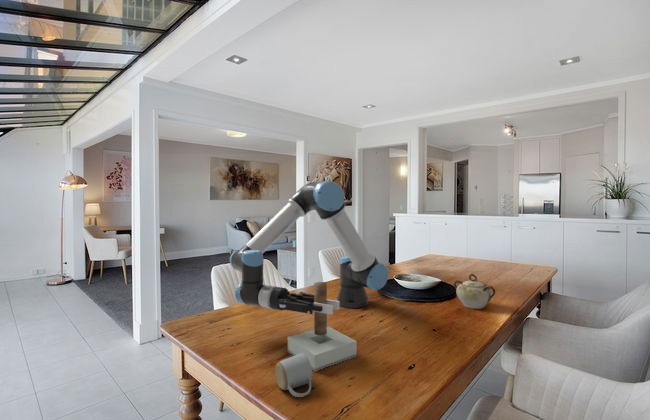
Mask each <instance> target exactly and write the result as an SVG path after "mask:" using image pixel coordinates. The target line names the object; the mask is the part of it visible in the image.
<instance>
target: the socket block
mask: <svg viewBox="0 0 650 420" xmlns="http://www.w3.org/2000/svg"><path fill="white" fill-rule="evenodd" d="M357 345H358V343H357V340H355V339H353V338H352V337H349V336H348V335H345V334H343V333H342V332H340V331H338V330H336V329H334V328H332V327H330V326H329V325H327V334H325V335H316V334H315V333H314V329H311V330H306V331H303V332H300V333H297V334H293V335H289V336H287V353H289V355H291V354H292V355H291V356H295V355H298V354H300V353H304V354H305V355H306V356H307V358H308V360H309V362H310V365H311V368H312V370H313V371H312V372H314V371H317V370H320V369H322V370H324V369H323V368H325V367H328V366H330V367H332V366H331V365H333V366H335V365H334V364H336V365H337V363H338V364H340V363H339V362H341V363H343V362H342V361H344V362H346V361H349V360H351V358H352V359H354V358H357V351H358V349H357V347H358V346H357ZM353 357H354V358H353ZM348 359H349V360H348ZM345 360H346V361H345ZM328 368H329V367H328ZM325 369H326V368H325ZM320 371H321V370H320ZM317 372H318V371H317Z"/></svg>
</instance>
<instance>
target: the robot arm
mask: <svg viewBox="0 0 650 420" xmlns="http://www.w3.org/2000/svg"><path fill="white" fill-rule="evenodd" d="M345 197H346V196H345V192H344V189H343V188H342V186H341V185H339V184H338V183H337V182H335V181H332V180H331V181H330V180H321V181H316V182H314V181H311V182H309V183H306V184H304V185H302V187H300V188H299V190H297V191H296V192H295V193H294V194H293V195H292V196H291V197H289V199H288V200H287V204H286V205H285V206H284V207H283V208H282V209H281V210H279V212H277V214H276V215H275V216H273V218H271V219H270V221H269V222H267V223H266V224H265V225H264V226H263V227H262V228H261V229H260V230H259V231H258V232H257V233H255V235H254V236H253V237H252V238H251V239H250V240H249V241H247V243H246V244H245V245H243V246H242V247H241V248H240V249H238V250H235V251H233V252H231V254H230V256H229V264H230V266H231V267H232V268H233V269H234V270H236V271H238V272H240V273H241V282H240V283H238V284H237V286H236V289H235V292H234V297H235V299H236V301H237V302H238V303H240V304H244V305H248V306H253V307H254V306H255V307H256V306H257V307H260V308H266V309H267V310H269V309H272V310H277V311H289V312H290V311H291V312H298V313H301V314H308V313H309V314H310V315H313V314H314V312H320V313H326V314H327V315H333V314H334V310H336V311H339V310H340V307H342V308H347V309H359V308H364V307H367V306H368V305H369V297H368V294H367V290H366V289H369V290H373V291H378V290H380V289H382V288H384V286H385V285H386V284H387V282H388V278H389V270H388V267H387V266H386V265H385V264H383V263H380V262H379V261H378V259H377V257H376V255H375V254H374V253H371V252H369V250H368V248H367V247H366V245H365V244H364V241H363V240H362V238H361V237H360V234H359V233H358V232H357V230H356V228H355V226H354V225H353V223H352V221H351V219H350V217H349V216H348V214H347V212H346V211H345V209H346V203H345ZM312 211H316V213H317V215H318V216H319V218H320V220H323V221H326V222H327V224H328V225H329V227H330V229H331V231H332V232H333V234H334V236H335V237H336V239H337V240H338V242H339V243H340V245H341V247H342V249H343V250H344V252H345V253H346V255H344V256H342V257H340V261H339V269H340V270H339V272H340V273H339V274H340V275H339V276H340V278H339V281H340V283H339V286H340V288H339V290H338V291H339V292H338V294H337V297H336V300H334V299H328V298H327V304H322V303H316V302H314V294H311V293H305V292H302V291H300V292H299V294H298V293H294V292H292V293H290V291H289V290H288V289H287V288H286V287H281V286H274V285H267V284H264V261H265V260H264V255H263V254H264V253H265V252H266V251H267V250H268V249H269V248H270V247H271V246H272V245H273V244H274V243H275V242H276V241H277V240H278V239H279V238H280V237H281V236H282V235H283V234H284V233H286V231H287V230H288V229H289V228H290V227H291V226H292V225H293V224H294V223H295V222H297V221H298V219H299V218H300V217H304V216H306V214H308V213H310V212H312Z"/></svg>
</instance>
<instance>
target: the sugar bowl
mask: <svg viewBox="0 0 650 420" xmlns="http://www.w3.org/2000/svg"><path fill="white" fill-rule="evenodd" d="M472 277H473V278H474V279H473V278H472ZM468 278H469V280H466V281H461V280H458V279H457V280H455V281H454V283H453V287H454V289H455V291H456V296H457V297H458V299H459V300H460V302H461V303H462V305H463V306H464V307H466V308H469V309H475V310H476V309H477V310H479V309H484V308H485V307H486V305H487V304H488V303H489V302H490V301H491V299H492V298H494V296H495V294H496V289H495V288H494V286H491V285H490V286H488V285H487V284H486V283H483V282H482V281H478V277H477V276H476V275H475V274H474V273H470V274H469V277H468Z"/></svg>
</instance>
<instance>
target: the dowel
mask: <svg viewBox="0 0 650 420" xmlns="http://www.w3.org/2000/svg"><path fill="white" fill-rule="evenodd" d="M327 284H328V283H327V282H323V281H318V282H314V283H313V287H314V289H313V290H314V291H313V295H314V302H316V303H322V304H327V299H328V298H327V295H328V294H327V293H328V290H327V286H328V285H327ZM313 314H314V315H313V316H314V317H313V318H314V319H313V321H314V323H313V325H314V328H313V330H314V333H315V334H316V335H325V334H327V326H328V324H327V323H328V318H327V317H328V314H326V313H320V312H314V311H313Z"/></svg>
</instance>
